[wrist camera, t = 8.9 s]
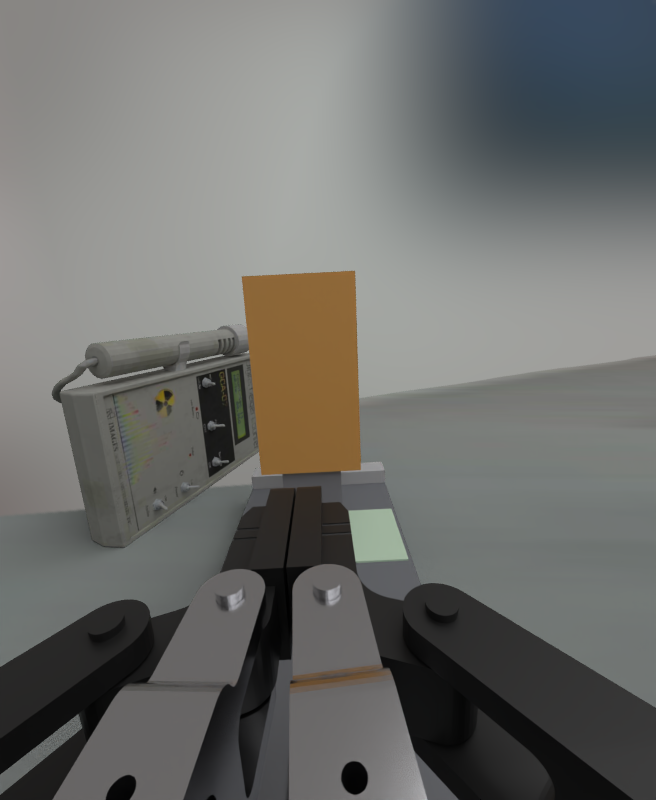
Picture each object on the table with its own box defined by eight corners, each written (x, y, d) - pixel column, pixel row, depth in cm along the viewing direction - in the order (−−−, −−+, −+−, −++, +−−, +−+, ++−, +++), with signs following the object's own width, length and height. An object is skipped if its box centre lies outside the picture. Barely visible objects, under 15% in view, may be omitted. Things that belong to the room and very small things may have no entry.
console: (701, 1519, 5) (755, 1444, 4) (-97, 1556, 5) (-188, 1491, 4) (381, 496, 30) (381, 461, 29) (259, 502, 30) (255, 468, 29)
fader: (363, 548, 20) (354, 270, 16) (269, 553, 20) (241, 276, 16) (358, 517, 22) (350, 276, 19) (276, 521, 22) (254, 281, 19)
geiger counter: (90, 340, 21) (286, 321, 44) (17, 341, 23) (240, 322, 46) (132, 554, 24) (294, 432, 47) (65, 537, 26) (250, 429, 49)
